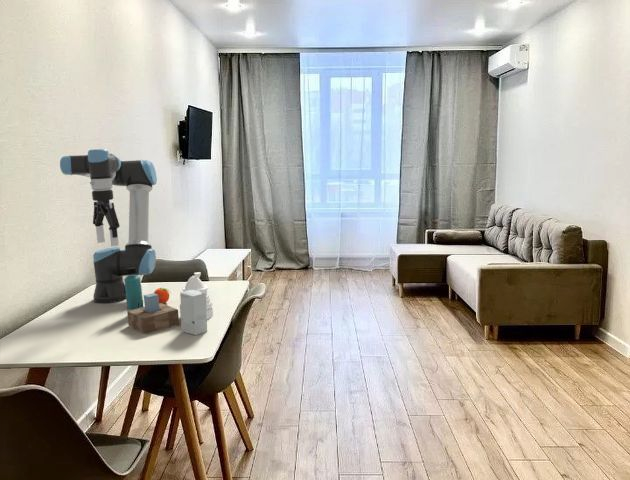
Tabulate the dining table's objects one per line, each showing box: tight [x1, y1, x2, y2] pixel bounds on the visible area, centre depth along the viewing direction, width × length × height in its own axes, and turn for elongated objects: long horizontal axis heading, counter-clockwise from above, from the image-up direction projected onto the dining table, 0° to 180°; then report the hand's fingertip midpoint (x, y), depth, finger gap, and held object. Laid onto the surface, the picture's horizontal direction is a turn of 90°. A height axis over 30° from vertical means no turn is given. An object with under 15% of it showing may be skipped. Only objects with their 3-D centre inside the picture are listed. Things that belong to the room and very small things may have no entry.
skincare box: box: [179, 290, 208, 336], centre depth 205 cm, size 8×6×15 cm
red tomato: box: [153, 287, 172, 304], centre depth 246 cm, size 8×7×7 cm
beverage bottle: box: [123, 267, 145, 312], centre depth 228 cm, size 6×7×20 cm
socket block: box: [126, 303, 180, 335], centre depth 216 cm, size 14×14×6 cm
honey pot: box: [179, 271, 214, 320], centre depth 224 cm, size 13×13×18 cm
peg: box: [143, 292, 160, 313], centre depth 215 cm, size 4×4×12 cm
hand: (107, 244), depth 221 cm, fingers open, 13 cm apart
